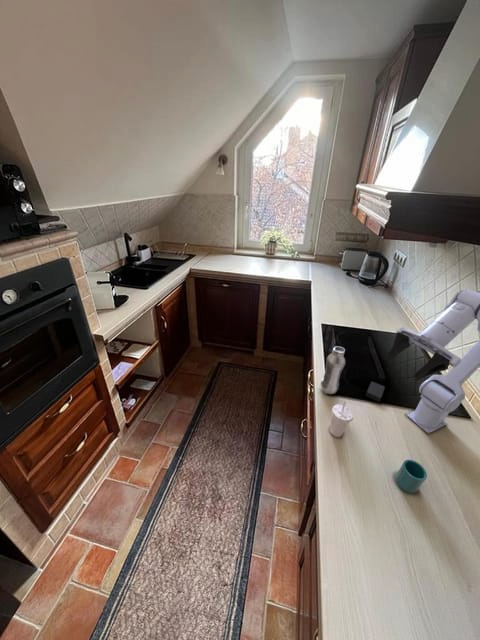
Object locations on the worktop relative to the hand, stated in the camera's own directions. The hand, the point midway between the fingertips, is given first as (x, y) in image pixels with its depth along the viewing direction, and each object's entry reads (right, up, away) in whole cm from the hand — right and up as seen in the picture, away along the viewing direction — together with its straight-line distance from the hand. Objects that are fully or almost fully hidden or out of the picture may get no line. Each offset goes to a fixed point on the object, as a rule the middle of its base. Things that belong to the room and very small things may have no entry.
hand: (400, 368), depth 62 cm
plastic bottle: (-5, -16, +37) cm, 41 cm away
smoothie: (-8, -25, +21) cm, 34 cm away
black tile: (+13, -17, +36) cm, 42 cm away
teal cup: (+6, -33, +8) cm, 35 cm away
